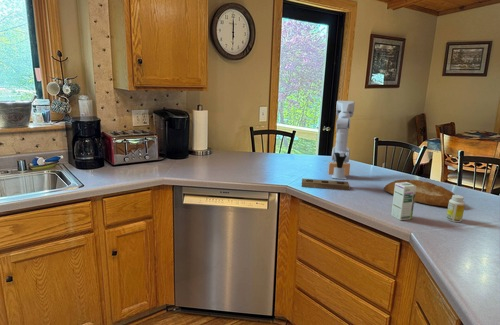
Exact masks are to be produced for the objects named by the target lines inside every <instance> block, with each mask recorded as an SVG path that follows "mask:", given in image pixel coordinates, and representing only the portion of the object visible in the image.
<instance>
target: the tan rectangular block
mask: <svg viewBox="0 0 500 325" xmlns="http://www.w3.org/2000/svg"><path fill="white" fill-rule="evenodd" d="M334 167H337V163H333V161H332V162H331V161H330V162H329V163H328V171H327V172H328V173H327V174H328V175H333V174H334ZM342 168H344V175H345V176H350V170H351V169H350V168H351V163H350V162H347V163H343V166H342Z"/></svg>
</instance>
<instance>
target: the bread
mask: <svg viewBox="0 0 500 325" xmlns="http://www.w3.org/2000/svg"><path fill="white" fill-rule="evenodd" d="M404 182H408V183H411V184H414V185H415V186H416V193H415V200H414V203H419V204H424V205H428V206H429V205H430V206H439V207H447V208H448V204H449V200H450V199H452V195H456V194H455V193H453V191H451V190H449V189H447V188H445V187H443V186H440V185H437V184H434V183H433V182H430V181H423V180H419V179H397V180H394V181H392V182H391V181H390V182H389V183H388V184H386V185H385V186H384V188H383V189H384V191H385V192H387V193H389V194H390V195H393V196H394V188H395V183H404Z"/></svg>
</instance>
